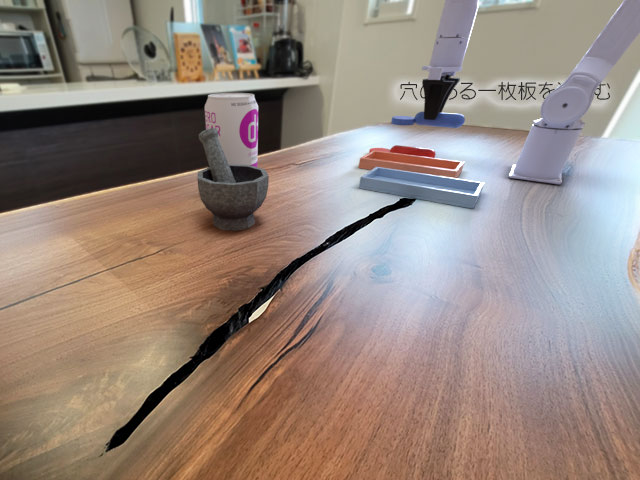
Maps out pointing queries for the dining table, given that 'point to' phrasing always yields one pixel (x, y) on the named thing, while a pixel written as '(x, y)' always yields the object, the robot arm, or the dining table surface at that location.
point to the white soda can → (235, 125)
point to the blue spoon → (441, 120)
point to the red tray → (412, 163)
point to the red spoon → (407, 151)
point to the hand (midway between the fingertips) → (431, 118)
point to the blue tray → (423, 186)
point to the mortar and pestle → (230, 187)
